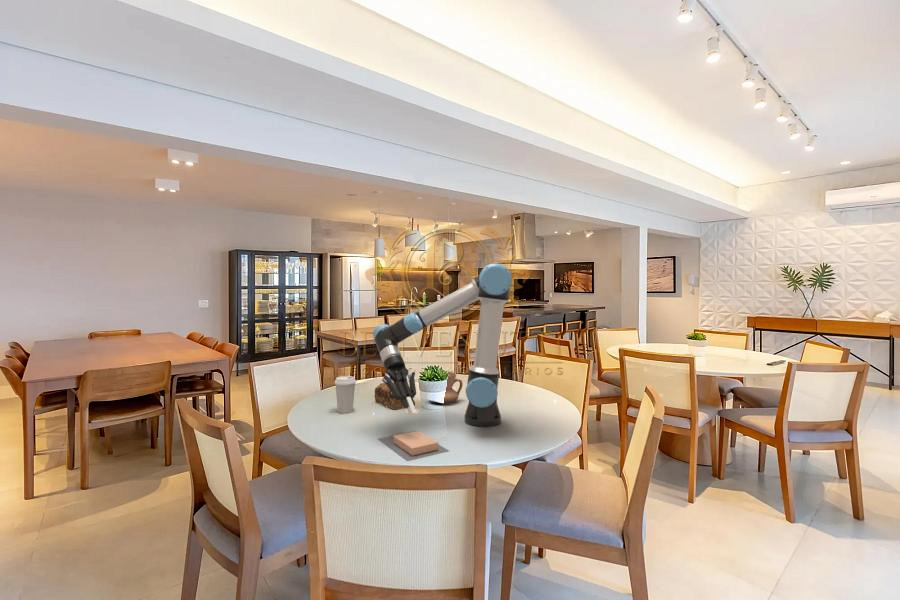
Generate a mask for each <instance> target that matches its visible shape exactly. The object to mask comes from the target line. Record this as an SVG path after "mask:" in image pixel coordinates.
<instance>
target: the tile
mask: <svg viewBox="0 0 900 600" xmlns="http://www.w3.org/2000/svg"><path fill="white" fill-rule="evenodd" d="M415 431H416V430H415ZM410 432H411V433H409V432H404V433H405V434H404V433H400V435H399V434H395V436H394V435H392V436H393V443H395V444H396V445H398V446H399V447H400V448H402V449H403V450H405V451H406V452H408V453H409V454H410V455H412V456H413V455H417V454H421V453H426V452H430V451H434V450H438V444H439V441H437V440H435V439H433V438H432V437H430V436H428V435H426V434H424V433H423V432H421V431H419V430H417V431H416V432H414V431H410Z"/></svg>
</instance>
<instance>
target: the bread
mask: <svg viewBox="0 0 900 600" xmlns="http://www.w3.org/2000/svg"><path fill="white" fill-rule="evenodd" d="M395 387H396V386H395ZM374 400H375V403H377V402H378V404H379V403H380V404H379V405H381V404H382V405H381V406H383V405H384V407H386V406H387V407H386V408H388V409H391V410H399V409H405V408H404V405H403V403H402V402H400V400H396V399H395V397H394V396H393V394H392V393H391V391H390V389H389V388H388V386H387V385H386V384H385V383H384V382H382V383H379V385H376V387H375V389H374Z"/></svg>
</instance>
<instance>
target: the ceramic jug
mask: <svg viewBox="0 0 900 600" xmlns="http://www.w3.org/2000/svg"><path fill="white" fill-rule="evenodd" d="M446 371H447V372H448V373H449V376H448V379H447V387H446V392H445V397H444V405H448V404H451V403H453V402H456V401H457V400H458V399H459V396H460V393H461V391H462V389H463V385H464V384H463V381H462V379H461V378H457V372H455V371H449V370H446ZM457 382H459V387H458V389H457V391H456V390H455V389H453V386H454V385H455V383H457Z"/></svg>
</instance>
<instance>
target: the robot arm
mask: <svg viewBox="0 0 900 600" xmlns="http://www.w3.org/2000/svg"><path fill="white" fill-rule="evenodd" d="M512 279H513V276H512V274H511V271H510V270H509V268H508V267H506V266H505V265H503V264H502V263H499V262H498V263H495V262H494V263H490V264H487V265H485V267H483V269H482V270H481V272H480V273H479V275H478V276H476V277H474V278H472V280H471V282H469V283H467V284H466V285H464V286H462V287H460V288H459V289H457V290H456V291H453V292H452V293H450V294H447V295H446V296H444V297H442V298H440V299H438V300H437V301H435V302H432V303H431V304H429V305H427V306H425V307H424V308H422V309H420V310H419V311H416V312H411V313H409V314H407V315H405V316H404V317H402V318H400V319H399V320H397V321H396V322H395V323H393V324H391V325H389V324H386V323H384V324H383V323H382V324H381V325H377V326H376V327H374V329H373V331H372V335H373V340H374V343H375V345H376V349H377V350H378V352H379V355H380V359H381V361H382V364H383V368H384V369H385V372H386V374H384V375H383V377H382V379H381V381H382V383H385V384H386V385H387V386H388V388H389V389H390V391H391V393H392V394H393V396H394V397H395V399H396V400H400V402H402V403H403V405H404V408H403V409H406V410H407V413H408V415H409V418H414V417H415V415H416V414H417V410H416V408H415V407H416V402H415V400H414V398H415V397H416V395H417V387H416V382H415V381H416V380H415V375H416V373H415V372H413V371H412V372H410V371H409V369H408V368H406V363H405V361H404V358H403V356H402V353H401V350H400V349H399V346H398V344H400V343H401V342H403V341H405V340H407V339H408V338H409V337H411V336H413V335H415V334H417V333H419V332H421V331H422V330H425V329H426V328H428V327H429V326H431V325H434V324H435V323H437V322H439V321H441V320H443V319H444V318H447V317H448V316H450V315H452V314H455V313H456V312H458V311H459V310H461V309H463V308H466V307H467V306H469V305H471V304H473V303H475V302H476V301H478V300H479V301H480V308H479V309H480V311H479V318H478V327H477V334H476V342H475V343H476V344H475V350H474V359H473V364H472V365H471V366H470V367H468V368H469V369H468V376H467V383H466V386H465V396H466V398H467V400H468V403H467V407H466V411H465V414H464V422H465V424H467V425H470V426H475V427H482V428H483V427H484V428H485V427H495V426H498V425H500V424H501V422H502V414H501V412H500V409H499V406H498V395H499V393H498V389H499V388H498V387H499V386H498V385H499V379H500V378H499V377H500V371H499V370H498V368H497V363H498V361H497V360H498V356H499V355H498V354H499V346H500V340H501V339H500V338H501V331H502V323H503V322H502V321H503V314H504V307H505V305H506V303H508V302H509V298H510V293H511V292H510V291H511V290H510V289H511V285H512ZM408 382H409V383H408ZM395 386H396V387H395Z"/></svg>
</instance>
